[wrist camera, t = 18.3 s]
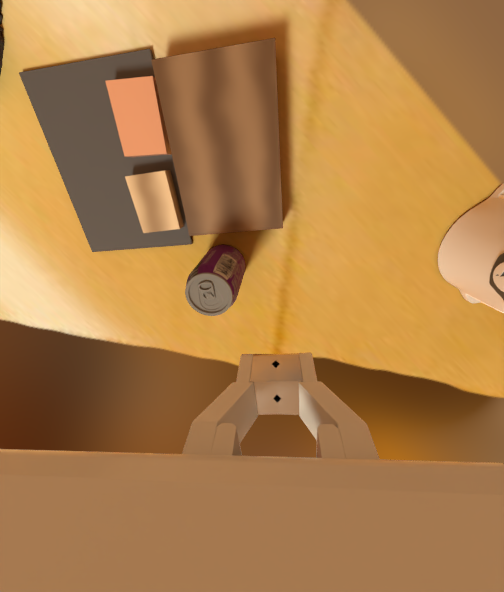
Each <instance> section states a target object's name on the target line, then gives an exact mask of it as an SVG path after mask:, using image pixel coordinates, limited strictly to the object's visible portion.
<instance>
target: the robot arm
mask: <svg viewBox="0 0 504 592" xmlns="http://www.w3.org/2000/svg"><path fill="white" fill-rule="evenodd" d="M438 266H439V270H440V272H441V274H442V276H443V277H444V279H445V280H446V281H447V282H449V283H450V284H452V285H453V286H455V287H457V288H458V289H459V290H460V292H461V294H462V296H463V298H464V299H465V300H467V301H469V302H471V303H480V302H482V303H484V304H486V305H488V306H490V307H492V308H494V309H496V310H498V311H500V312H502V313H504V183H503V184H502V185H501V186H500V187H499V188H498V189H497V190H496V191H495V192H494V193H493V194H492V195H491V196H490V197H489V198H488V199H487V200H485V201H484V202H482V203H481V204H479V205H477V206H476V207H474V208H472V209H471V210H469V211H468V212H467V213H465V214H464V215H463V216H462V217H461V218H459V219H458V220H457V221H456V222H455V224H454V225H453V226H452V227H451V228H450V230H449V231H448V232H447V234H446V236H445V237H444V239H443V241H442V243H441V246H440V249H439V253H438ZM261 414H289V415H300V417H301V419H302V420H303V421H304V423H305V424H306V425H307V427H308V428H309V430H310V431H311V433H312V434H313V436H314V437H315V439H316V440H317V455H316V458H299V457H265V456H264V457H263V456H242V454H241V449H240V442H241V441H242V439H243V438H244V436H245V435H246V433H247V432H248V430H249V429H250V427H251V426H252V424H253V423H254V421H255V419H256V418H257V416H258V415H261ZM0 592H504V463H480V462H445V461H411V460H380V459H379V456H378V454H377V451H376V448H375V445H374V443H373V440H372V437H371V434H370V432H369V429H368V426H367V424H366V423H365V422H364V421H363V420H362V419H360V417H359V416H358V415H356V414H355V413H354V412H353V411H352V410H351V409H350V408H349V407H348V406H347V405H346V404H344V402H342V401H341V400H340V399H339V398H338V397H337V396H336V395H335V394H334V393H333V392H332V391H331V390H330V389H328V388H327V387H326V386H325V385H324V384H323V383H322V382H317V377H316V373H315V367H314V362H313V358H312V354H311V353H294V354H242V355H241V359H240V364H239V369H238V375H237V380H236V382H235V383H232V384H231V385H230V386H229V387H228V388H227V389H226V390H225V391H224V392H223V393H221V395H220V396H218V397H217V398H216V400H215V401H213V402H212V403H211V404H210V405H209V406H208V407H207V408H206V409H205V410H204V411H203V412H202V413H201V414H200V415H199V416H198V417H197V418H196V419H195V420H194V421H193V422H192V425H191V428H190V431H189V434H188V437H187V441H186V443H185V446H184V449H183V453H182V454H158V453H122V452H86V451H50V450H49V451H48V450H13V449H0Z"/></svg>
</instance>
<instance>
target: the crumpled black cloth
mask: <svg viewBox="0 0 504 592" xmlns="http://www.w3.org/2000/svg"><path fill="white" fill-rule="evenodd" d="M0 7H1V4H0ZM1 20H2V15H1V14H0V24H2V23H1ZM2 31H3V29H2V28H1V27H0V74H1V68H2V59H3V50H4V38H3V36H2Z"/></svg>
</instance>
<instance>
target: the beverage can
mask: <svg viewBox="0 0 504 592" xmlns="http://www.w3.org/2000/svg"><path fill="white" fill-rule="evenodd" d="M244 272H245V260H244V258H243V256H242V254H241V253H240V252H239V251H238V250H237V249H235V248H234V247H231V246H228V245H218V246H215V247H213V248H211V249H210V250H209V251H208V252H207V254H206V255H205V256H204V257H203V258H202V260H201V261H200V262H199V263H198V265H197V266H196V267H195V268H194V270H193V271H192V272H191V273H190V275H189V277H188V279H187V285H186V290H185V294H186V298H187V301H188V303H189V304H190V306H191V307H192V308H193V309H194V310H196V311H197V312H199V313H201V314H204V315H208V316H216V315H220V314H222V313H224V312H225V311H226V310H228V308H229V307H230V306H232V305H233V303H234V302H235V300H236V298H237V295H238V292H239V289H240V285H241V282H242V279H243V275H244Z"/></svg>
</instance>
